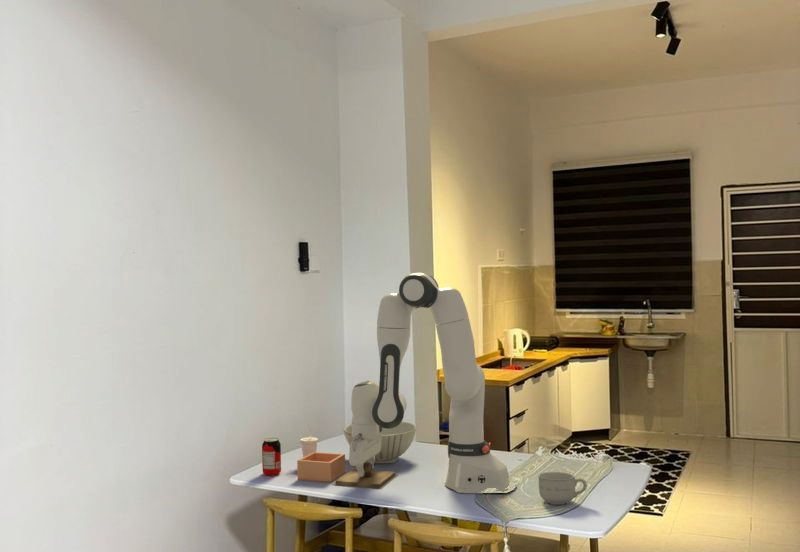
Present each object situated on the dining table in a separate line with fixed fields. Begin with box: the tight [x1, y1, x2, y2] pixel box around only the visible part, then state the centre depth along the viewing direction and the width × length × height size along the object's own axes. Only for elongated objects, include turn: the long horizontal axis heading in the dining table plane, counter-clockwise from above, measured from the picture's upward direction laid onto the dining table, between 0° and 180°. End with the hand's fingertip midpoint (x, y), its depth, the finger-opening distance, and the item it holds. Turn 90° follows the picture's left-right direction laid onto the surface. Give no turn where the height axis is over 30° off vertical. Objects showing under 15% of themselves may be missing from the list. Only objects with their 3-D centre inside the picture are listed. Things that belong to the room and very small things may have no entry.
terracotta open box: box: [296, 451, 346, 484], centre depth 240 cm, size 12×12×7 cm
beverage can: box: [261, 437, 282, 477], centre depth 246 cm, size 6×6×12 cm
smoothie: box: [299, 426, 319, 458], centre depth 256 cm, size 6×6×14 cm
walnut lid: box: [335, 462, 396, 488], centre depth 235 cm, size 15×15×5 cm
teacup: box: [537, 471, 588, 505], centre depth 209 cm, size 14×11×8 cm
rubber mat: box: [332, 474, 399, 490], centre depth 235 cm, size 17×17×1 cm
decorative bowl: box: [343, 421, 417, 464], centre depth 262 cm, size 27×27×12 cm
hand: (366, 472), depth 235 cm, fingers open, 7 cm apart
